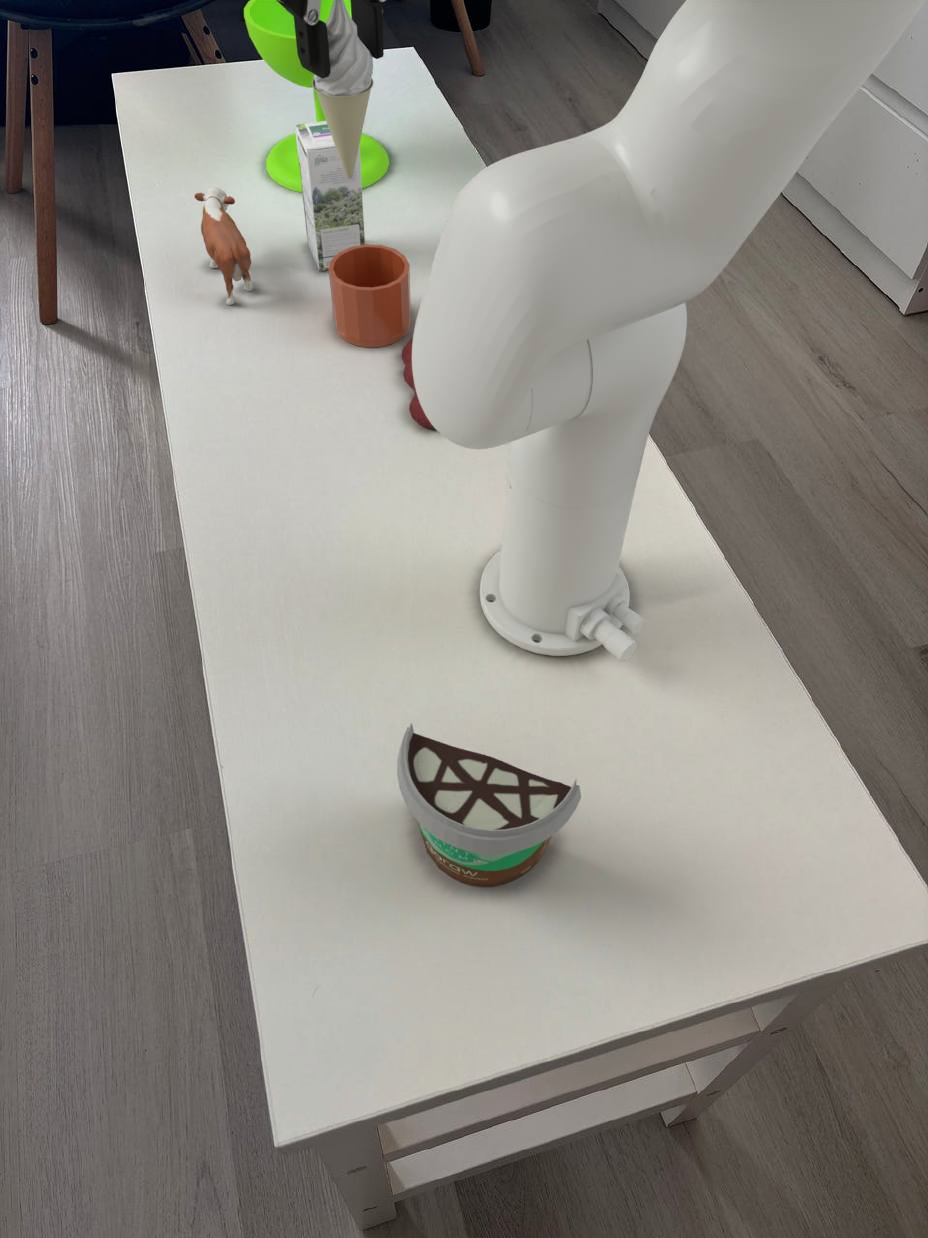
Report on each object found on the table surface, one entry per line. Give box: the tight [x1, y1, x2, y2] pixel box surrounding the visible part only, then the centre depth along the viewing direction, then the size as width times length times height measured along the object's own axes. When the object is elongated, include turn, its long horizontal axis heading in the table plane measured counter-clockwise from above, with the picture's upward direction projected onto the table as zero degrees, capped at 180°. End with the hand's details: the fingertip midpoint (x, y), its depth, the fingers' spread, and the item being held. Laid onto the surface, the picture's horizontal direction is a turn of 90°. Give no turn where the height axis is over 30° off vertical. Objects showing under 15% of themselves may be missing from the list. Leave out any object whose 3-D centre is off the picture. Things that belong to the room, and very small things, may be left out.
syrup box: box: [294, 121, 366, 272], centre depth 108 cm, size 6×6×14 cm
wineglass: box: [243, 0, 390, 194], centre depth 120 cm, size 16×16×18 cm
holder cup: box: [328, 243, 412, 348], centre depth 103 cm, size 8×8×7 cm
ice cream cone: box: [312, 0, 374, 179], centre depth 81 cm, size 5×5×15 cm
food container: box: [396, 722, 582, 888], centre depth 65 cm, size 12×6×10 cm, turn 69°
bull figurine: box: [194, 186, 253, 306], centre depth 108 cm, size 4×13×8 cm, turn 18°
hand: (342, 59), depth 79 cm, fingers closed on ice cream cone, 4 cm apart
